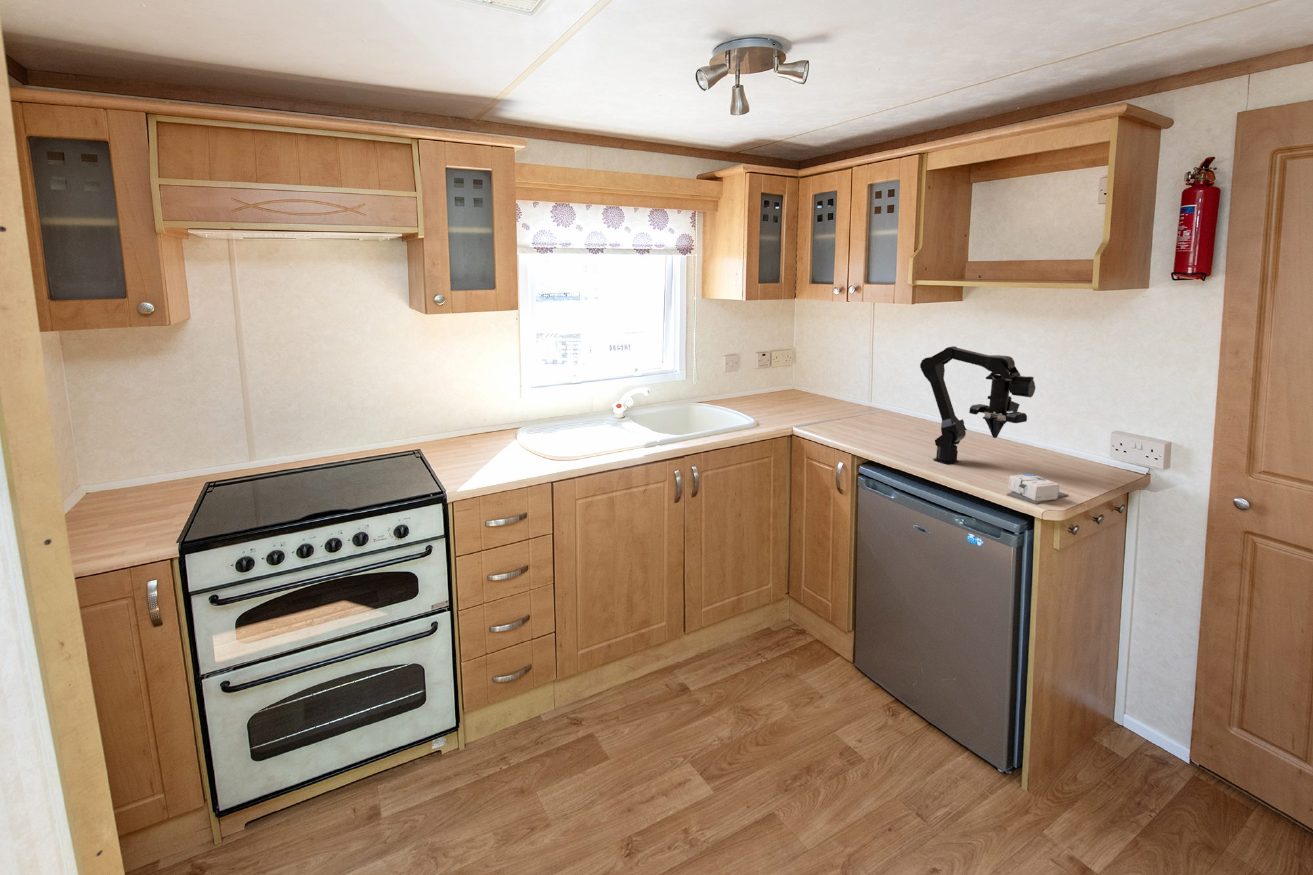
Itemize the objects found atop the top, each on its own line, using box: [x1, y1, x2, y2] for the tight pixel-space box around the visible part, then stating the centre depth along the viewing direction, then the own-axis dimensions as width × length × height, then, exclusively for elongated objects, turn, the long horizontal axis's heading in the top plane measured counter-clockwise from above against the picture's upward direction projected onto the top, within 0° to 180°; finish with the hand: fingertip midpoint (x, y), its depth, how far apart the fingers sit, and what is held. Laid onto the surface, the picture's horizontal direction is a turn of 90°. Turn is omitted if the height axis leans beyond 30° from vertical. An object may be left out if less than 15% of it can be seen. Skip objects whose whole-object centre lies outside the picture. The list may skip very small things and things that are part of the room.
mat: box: [1006, 491, 1069, 505], centre depth 230 cm, size 10×16×1 cm, turn 119°
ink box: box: [1007, 473, 1060, 501], centre depth 229 cm, size 9×5×12 cm
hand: (994, 437), depth 252 cm, fingers closed
